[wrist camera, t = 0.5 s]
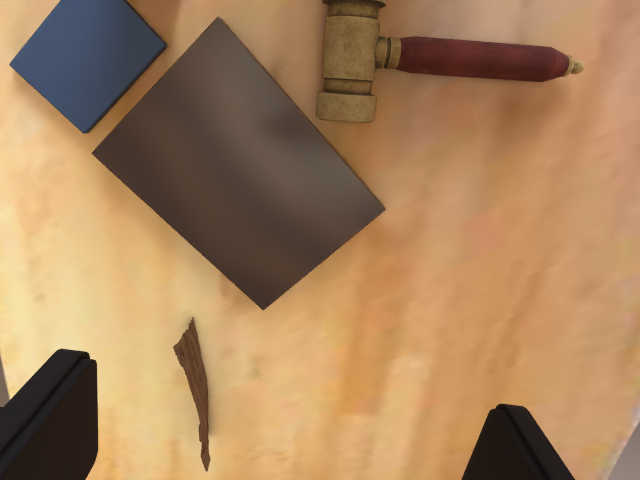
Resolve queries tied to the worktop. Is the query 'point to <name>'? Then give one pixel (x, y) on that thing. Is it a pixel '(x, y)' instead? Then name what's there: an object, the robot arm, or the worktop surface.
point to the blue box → (88, 57)
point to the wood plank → (195, 382)
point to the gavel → (413, 60)
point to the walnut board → (238, 168)
